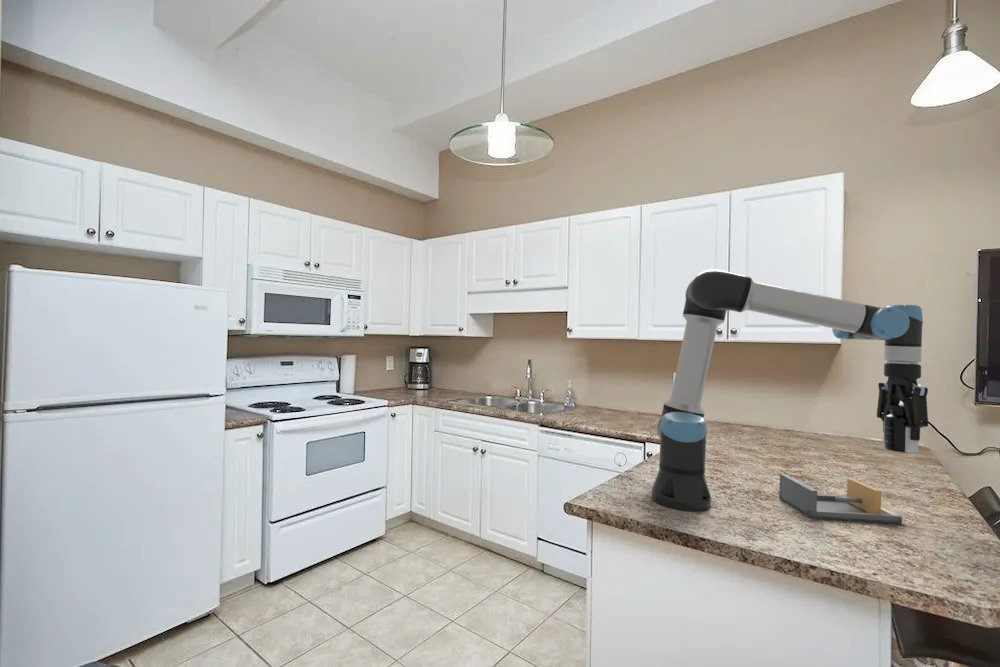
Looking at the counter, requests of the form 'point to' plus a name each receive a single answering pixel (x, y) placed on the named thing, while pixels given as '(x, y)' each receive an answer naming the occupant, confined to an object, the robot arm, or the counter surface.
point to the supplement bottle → (895, 428)
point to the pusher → (862, 496)
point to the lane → (827, 504)
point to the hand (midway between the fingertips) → (900, 448)
